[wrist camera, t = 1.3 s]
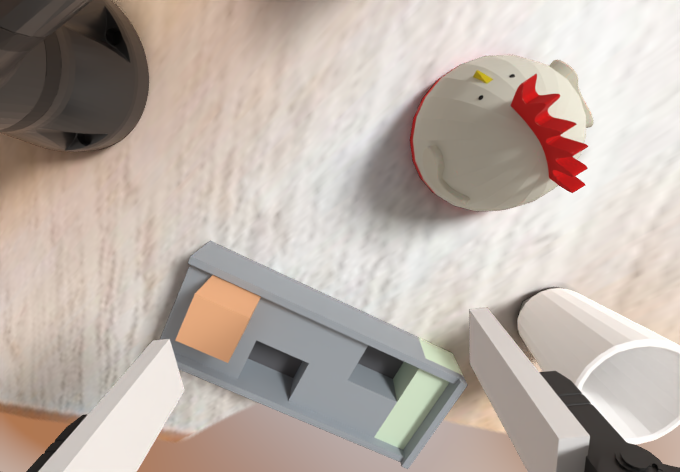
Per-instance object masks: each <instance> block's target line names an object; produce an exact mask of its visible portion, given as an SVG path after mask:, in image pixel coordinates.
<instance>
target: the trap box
mask: <svg viewBox="0 0 680 472" xmlns="http://www.w3.org/2000/svg"><path fill="white" fill-rule="evenodd" d="M188 264H190V266H189V269H188V271H187V274H186V276H185V279H184V281H183V284H182V286H181V288H180V291H179V293H178V296H177V298H176V301H175V303H174V306H173V308H172V311H171V313H170V316H169V318H168V320H167V323H166V325H165V328H164V330H163V333H162V335H161V338H160V340H163V339H170V342H171V345H172V349H173V352H174V355H175V359H176V362H177V366H178V369H179V370H182V371H184V372H187V373H189V374H191V375H194V376H196V377H198V378H201V379H203V380H206V381H208V382H210V383H213V384H215V385H218V386H220V387H222V388H225V389H227V390H229V391H232V392H234V393H237V394H239V395H241V396H244V397H246V398H248V399H251V400H253V401H256V402H258V403H260V404H263V405H265V406H268V407H270V408H272V409H275V410H277V411H279V412H282V413H284V414H287V415H289V416H291V417H294V418H296V419H298V420H301V421H303V422H306V423H308V424H310V425H313V426H315V427H318V428H320V429H323V430H325V431H327V432H330V433H332V434H334V435H337V436H339V437H342V438H344V439H346V440H349V441H351V442H353V443H356V444H358V445H360V446H363V447H365V448H368V449H370V450H372V451H375V452H377V453H379V454H382V455H384V456H387V457H389V458H391V459H394V460H396V461H398V462H401V466H402V467H404V468H406V469H408V468H409V467H410V466H411V464H412V463H413V461H414V460H415V459H416V457H417V456H418V454H419V453H420V451H421V450H422V449H423V447H424V446H425V444H426V443H427V442H428V440H429V439H430V437H431V436H432V435H433V433H434V432H435V430H436V429H437V428H438V426H439V425H440V423H441V422H442V421H443V419H444V418H445V416H446V415H447V414H448V412H449V411H450V409H451V408H452V406H453V405H454V404H455V402H456V401H457V399H458V398H459V397H460V395H461V394H462V392H463V391H464V390H465V388H466V387H467V383H466V381H465V378H464V376H463V374H462V372H461V370H460V368H459V366H458V364H457V362H456V360H455V358H454V356H453V353H451V352H449V351H447V350H444V349H442V348H440V347H438V346H436V345H434V344H432V343H429V342H427V341H425V340H423V339H421V338H419V337H416V336H414V335H412V334H410V333H408V332H406V331H404V330H401V329H399V328H397V327H395V326H393V325H391V324H388V323H386V322H384V321H382V320H380V319H378V318H376V317H373V316H371V315H369V314H367V313H365V312H363V311H360V310H358V309H356V308H354V307H352V306H350V305H348V304H345V303H343V302H341V301H339V300H337V299H335V298H332V297H330V296H328V295H326V294H324V293H322V292H320V291H317V290H315V289H313V288H311V287H309V286H307V285H304V284H302V283H300V282H298V281H296V280H294V279H291V278H289V277H287V276H285V275H283V274H281V273H279V272H276V271H274V270H272V269H270V268H268V267H266V266H263V265H261V264H259V263H257V262H255V261H253V260H251V259H248V258H246V257H244V256H242V255H240V254H238V253H235V252H233V251H231V250H229V249H227V248H225V247H223V246H220V245H218V244H216V243H214V242H212V241H209V242H208V243H207V244H206V245H204V246H203V247H202V248H200V249H199V250H198V251H197V252H195V253H194V254H193V255H191V257H190V259H189V261H188ZM212 275H215V276H217V277H219V278H221V279H224V280H226V281H228V282H230V283H232V284H235V285H237V286H239V287H241V288H243V289H246V290H248V291H250V292H252V293H254V294H257V295H259V296H261V298H260V300H259V302H258V304H257V306H256V308H255V310H254V313H253V315H252V317H251V319H250V321H249V323H248V325H247V327H246V329H245V331H244V333H243V335H242V337H241V339H240V341H239V343H238V345H237V347H236V349H235V351H234V353H233V355H232V356H231V358H230V360H229V362H228V363H227V362H224V361H222V360H220V359H217V358H215V357H213V356H210V355H208V354H206V353H203V352H201V351H199V350H196V349H194V348H192V347H189V346H187V345H185V344H182V343H180V342H178V341H175V340H176V337H177V335H178V332H179V330H180V328H181V325H182V323H183V321H184V318H185V316H186V313H187V311H188V309H189V306H190V304H191V302H192V299H193V297H194V294H195V293H196V292H197V291H198V290H199V289H200V288H201V287H202V286H203V285H204V284H205V283H206V282H207V280H208V279H209V278H210V277H211V276H212Z"/></svg>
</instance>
